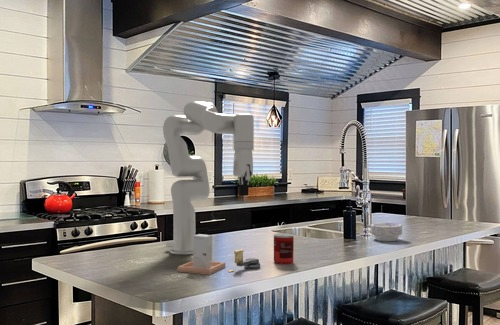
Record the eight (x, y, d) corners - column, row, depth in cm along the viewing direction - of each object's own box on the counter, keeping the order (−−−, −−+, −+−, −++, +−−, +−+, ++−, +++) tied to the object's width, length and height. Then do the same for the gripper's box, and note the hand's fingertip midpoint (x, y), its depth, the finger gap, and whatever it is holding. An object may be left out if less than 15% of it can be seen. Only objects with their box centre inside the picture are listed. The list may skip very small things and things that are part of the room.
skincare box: (192, 268, 187) (192, 235, 187) (198, 265, 191) (198, 233, 191) (206, 269, 184) (206, 236, 184) (212, 267, 188) (212, 234, 188)
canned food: (281, 259, 205) (281, 232, 205) (297, 262, 200) (297, 234, 200) (269, 262, 199) (269, 234, 199) (286, 265, 194) (286, 236, 194)
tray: (177, 271, 184) (177, 266, 184) (195, 264, 196) (195, 259, 196) (209, 274, 179) (209, 269, 179) (225, 267, 191) (225, 262, 191)
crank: (251, 260, 194) (251, 246, 194) (261, 262, 191) (261, 247, 191) (230, 265, 185) (230, 250, 185) (240, 267, 182) (240, 252, 182)
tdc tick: (229, 272, 182) (229, 271, 182) (228, 271, 183) (228, 270, 183) (234, 271, 184) (234, 270, 184) (232, 270, 184) (232, 270, 184)
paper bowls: (364, 240, 254) (364, 224, 254) (381, 236, 264) (381, 221, 264) (390, 243, 243) (390, 227, 243) (408, 240, 253) (408, 224, 253)
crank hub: (241, 268, 189) (241, 264, 189) (248, 265, 194) (248, 261, 194) (256, 269, 187) (256, 265, 187) (262, 266, 192) (262, 262, 192)
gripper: (228, 147, 196) (228, 194, 196) (240, 146, 182) (240, 197, 182) (246, 147, 199) (246, 193, 199) (260, 146, 185) (260, 196, 185)
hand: (243, 195), depth 190 cm, fingers closed
